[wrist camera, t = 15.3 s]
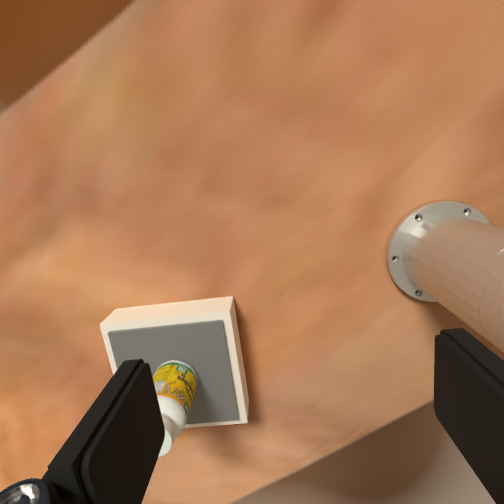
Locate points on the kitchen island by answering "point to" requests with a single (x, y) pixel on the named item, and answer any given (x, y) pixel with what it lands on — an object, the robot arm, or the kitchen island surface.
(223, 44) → the kitchen island surface
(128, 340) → the plate
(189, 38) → the kitchen island surface
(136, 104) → the kitchen island surface
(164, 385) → the supplement bottle
